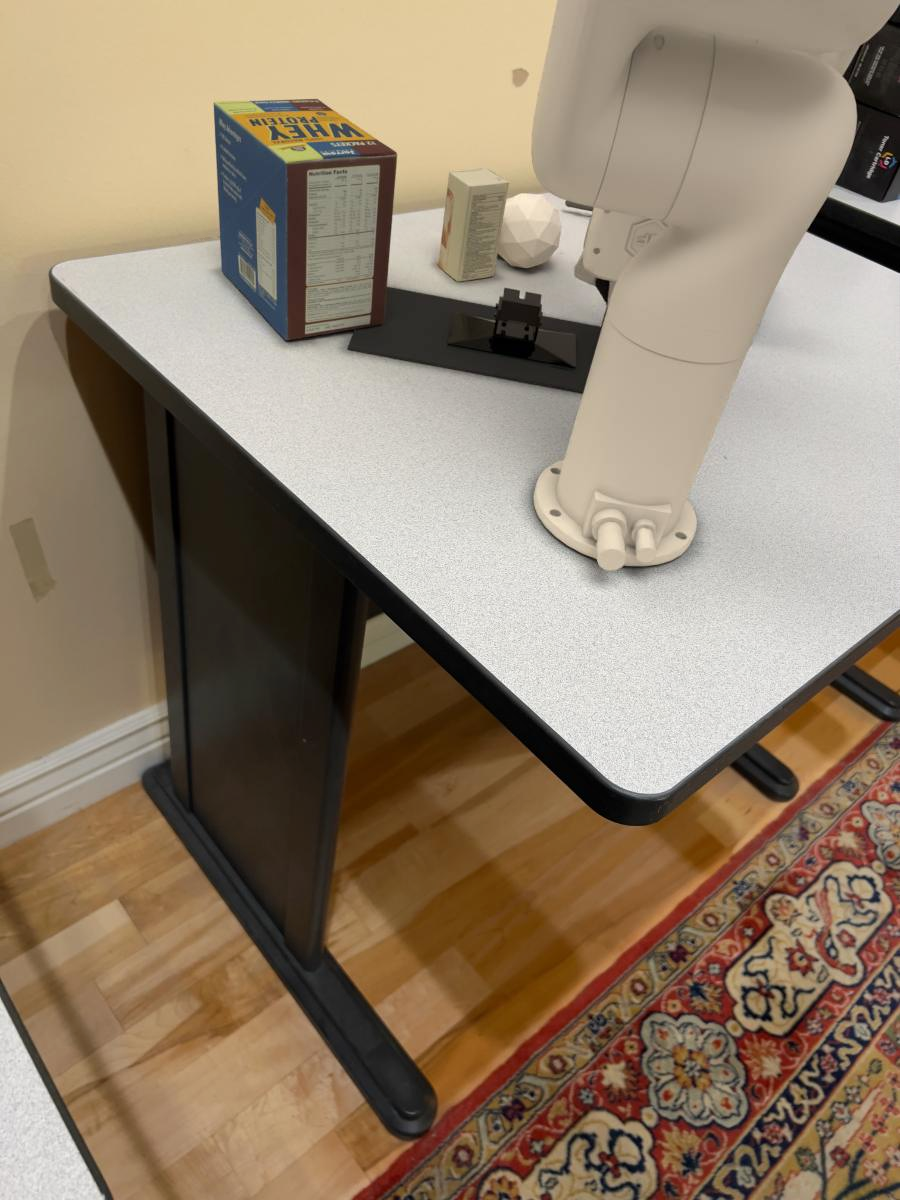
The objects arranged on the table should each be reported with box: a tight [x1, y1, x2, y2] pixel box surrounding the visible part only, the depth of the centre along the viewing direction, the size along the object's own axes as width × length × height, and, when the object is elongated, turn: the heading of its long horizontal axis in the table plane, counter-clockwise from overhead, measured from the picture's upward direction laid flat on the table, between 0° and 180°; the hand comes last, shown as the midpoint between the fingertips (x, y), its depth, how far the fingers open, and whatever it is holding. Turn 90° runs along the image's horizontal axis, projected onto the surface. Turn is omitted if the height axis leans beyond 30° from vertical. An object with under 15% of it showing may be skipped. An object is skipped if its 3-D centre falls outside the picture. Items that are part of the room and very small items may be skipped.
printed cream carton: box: [437, 167, 510, 282], centre depth 94 cm, size 5×4×10 cm
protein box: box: [213, 98, 398, 341], centre depth 81 cm, size 10×15×16 cm
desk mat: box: [347, 286, 601, 394], centre depth 86 cm, size 14×24×1 cm, turn 85°
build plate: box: [447, 287, 576, 370], centre depth 85 cm, size 12×7×5 cm, turn 84°
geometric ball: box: [497, 192, 562, 269], centre depth 99 cm, size 8×8×8 cm
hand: (612, 345), depth 86 cm, fingers closed
